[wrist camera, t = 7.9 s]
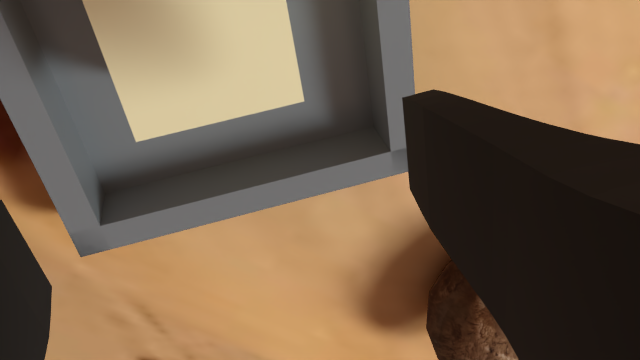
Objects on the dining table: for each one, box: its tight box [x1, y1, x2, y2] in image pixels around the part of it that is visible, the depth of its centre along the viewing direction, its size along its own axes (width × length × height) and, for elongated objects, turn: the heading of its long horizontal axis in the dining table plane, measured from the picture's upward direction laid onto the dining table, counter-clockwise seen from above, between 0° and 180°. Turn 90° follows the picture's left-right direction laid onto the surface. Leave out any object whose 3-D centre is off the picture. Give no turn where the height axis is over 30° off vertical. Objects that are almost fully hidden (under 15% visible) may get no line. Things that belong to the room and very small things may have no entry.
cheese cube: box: [82, 0, 304, 142], centre depth 16 cm, size 4×4×4 cm
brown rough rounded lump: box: [426, 260, 519, 360], centre depth 26 cm, size 8×8×6 cm
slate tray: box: [0, 0, 415, 257], centre depth 17 cm, size 12×14×2 cm
